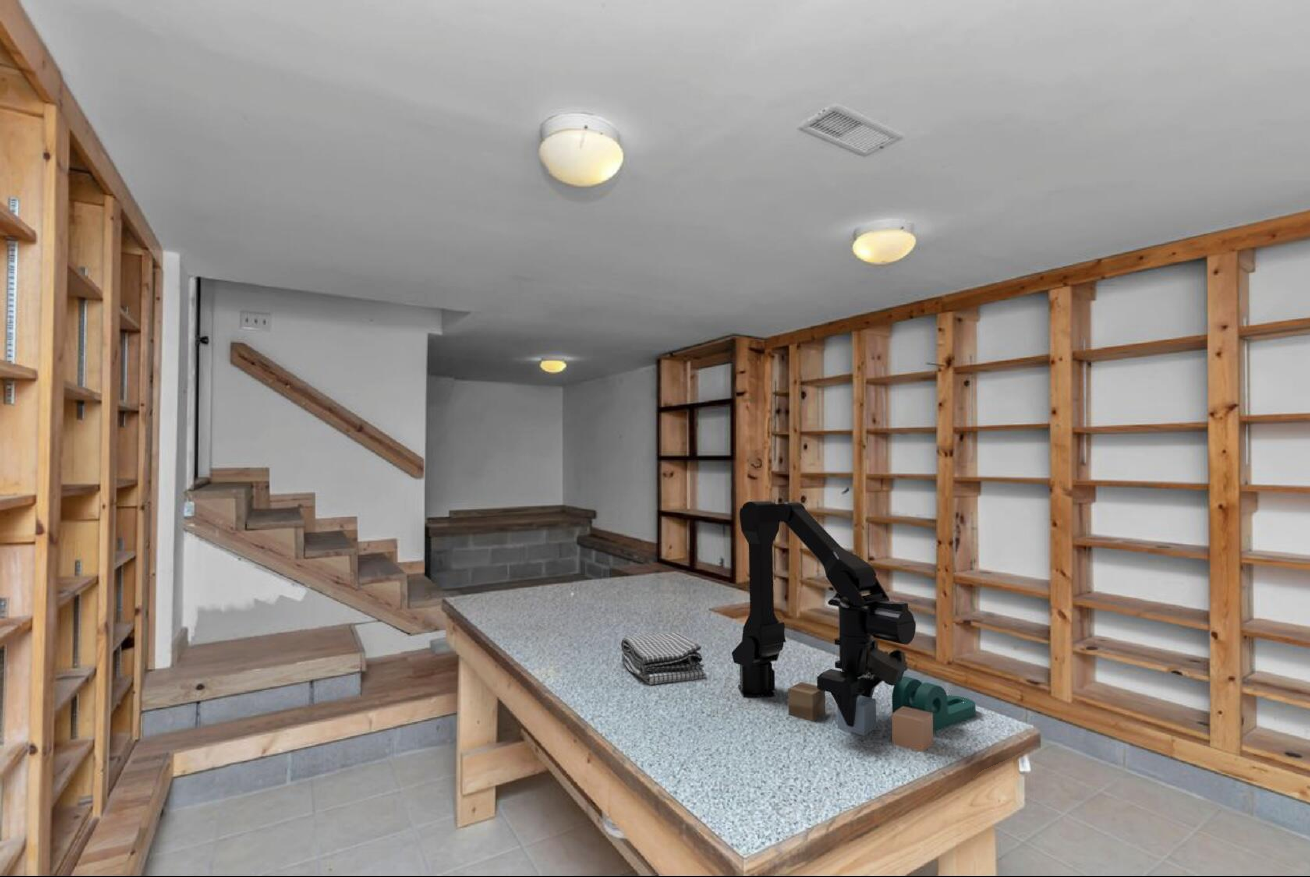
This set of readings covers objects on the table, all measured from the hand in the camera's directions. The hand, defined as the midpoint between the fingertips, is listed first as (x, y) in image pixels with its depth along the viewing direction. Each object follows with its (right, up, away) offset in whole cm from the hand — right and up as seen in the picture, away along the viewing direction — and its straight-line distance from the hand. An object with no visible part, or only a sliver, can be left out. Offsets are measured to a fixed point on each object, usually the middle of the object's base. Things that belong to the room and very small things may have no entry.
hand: (856, 721), depth 115 cm
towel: (-35, -4, +34) cm, 49 cm away
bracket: (+17, -2, +5) cm, 18 cm away
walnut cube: (-7, -2, +7) cm, 10 cm away
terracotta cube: (+7, -1, -7) cm, 10 cm away
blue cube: (0, -1, 0) cm, 1 cm away
